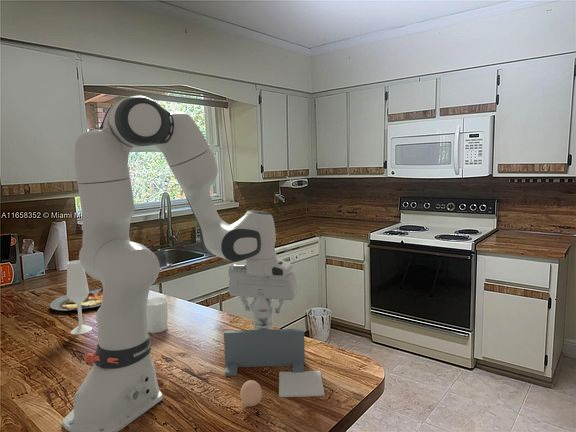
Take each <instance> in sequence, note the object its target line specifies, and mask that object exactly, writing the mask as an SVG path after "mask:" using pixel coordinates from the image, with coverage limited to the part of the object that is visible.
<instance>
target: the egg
mask: <svg viewBox="0 0 576 432" xmlns="http://www.w3.org/2000/svg"><path fill="white" fill-rule="evenodd" d="M262 389H263V388H262V387H261V385H260V384H259V382H257V380H253V379H252V380H251V379H249V380H247V381H246V382H244V383H243V384H242V386H241V388H240V391H239V396H240V401H241V402H242V403H243V405H245V406H247V407H255V406H256V405H258V404H259V403H260V402H261V400H262V397H263V391H262Z"/></svg>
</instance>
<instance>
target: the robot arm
mask: <svg viewBox="0 0 576 432" xmlns="http://www.w3.org/2000/svg"><path fill="white" fill-rule="evenodd" d="M149 146H155V147H156V148H157V149H159V151H160V152H161V154H162V155H163V156H164V158H165V160H166V163H167V165H168V166H169V168H170V170H171V172H172V174H173V176H174V177H175V179H176V181H177V183H178V184H179V186H180V188H181V190H182V192H183V193H184V195H185V198H186V201H187V203H188V205H189V208H190V210H191V211H192V214H193V216H194V219H195V221H196V223H197V225H198V230H199V239H200V240H199V241H200V245H201V247H202V249H203V250H204V251H205V252H206V253H207V254H209V255H212V256H215V257H219V258H220V259H224V260H226V261H229V262H232V263H233V262H234V263H237V262H242V261H245V264H232V265H231V266H229V267H228V277H229V278H228V279H229V280H228V294H229V295H230V296H231V297H240V301H241V303H242V304H243V306H244V311H245V312H251V311H252V308H251V304H252V303H249V301H248V298H252V299H254V298H257V297H259V296H261V297H263V298H266V299H271V300H278V304H279V305H276V306H275V308H274V310H275V311H274V313H275V314H277V315H278V314H279V315H280V314H282V311H283V309H282V308H283V305H284V304H285V301H293V300H294V299H295V298H296V297H297V295H298V288H297V286H298V285H297V280H296V279H297V278H296V276H295V273H293V272H292V271H293V266H294V265H293V264H292V263H290V262H288V261H285V260H283V259H281V258H278V257H277V252H276V248H275V247H276V246H275V245H276V240H277V239H276V237H277V236H276V226H275V221H274V218H273V215H272V214H271V213H270V212H268V211H263V210H262V211H260V210H247V211H246V212H245V214H244V215H243V216H242V217H240V218H238V219H237V220H236V221H235V222H233V223H231V224H230V223H228V222H226V221H225V220H224V219H222V218H221V216H220V215H219V213H218V211H217V208H216V205H215V203H214V201H213V199H212V196H211V192H210V188H211V185H213V183H214V182H215V181H216V179H217V177H218V172H219V170H218V165H217V162H216V159H215V156H214V153H213V152H212V149H211V147H210V145H209V143H208V141H207V140H206V137H205V136H204V134H203V133H202V130H201V129H200V127H199V126H198V124H197V123H196V122H195V120H194V119H193V118H192V117H191V115H189V114H188V113H186V112H181V111H175V112H170V111H168V110H166V109H165V108H164V107H162V106H161V105H160V104H159V103H158V102H156V101H155V100H153V99H152V98H149V97H147V96H144V95H132V96H129V97H125V98H122V99H121V98H120V99H119V100H118V101H116V102H115V103H113V104H112V105H111V106H110V107H109V108H108V109H107V111H106V112H105V114H104V117H103V120H102V122H101V124H100V126H99V128H98V129H93V130H89V131H86V132H83V133H82V134H80V135H79V136H78V137H77V138H76V140H75V144H74V169H75V176H76V177H75V178H76V179H75V180H76V183H77V189H78V197H79V202H80V207H81V213H82V214H81V215H82V242H81V243H82V245H81V246H82V247H80V248H81V249H80V250H79V253H78V260H79V261H80V264H81V266H82V268H83V269H84V270H85V274H87V275H88V276H89V277H90V278H92V279H94V280H96V281H99V282H100V283H101V285H102V288H103V297H102V303H101V306H99V308H98V309H97V311H96V314H95V315H96V327H97V335H98V336H97V337H98V343H97V345H96V351H95V353H91V352H88V353H86V355H85V357H84V360H85V362H86V363H93V366H92V367H91V369H90V370H89V371H88V374H87V375H86V377H85V378H84V380H83V381H82V383H81V385H80V386H79V388H78V389H77V390H76V392H75V394H74V397H73V408H72V410H71V411H69V413H68V414H67V415H66V416H65V417H64V418H63V419H62V421H61V422H62V423H61V425H62V427H63V429H64V430H65V431H68V432H121V430H123V429H124V428H125V427H127V426H129V425H130V423H132V422H134V421H135V420H136V419H138V418H139V417H140V416H142V415H143V414H144V413H146V412H148V411H149V410H150V409H151V408H153V407H154V406H156V405H157V404H159V402H161V401H162V400H163V399H164V397H163V396H164V395H163V392H162V391H161V390H160V386H159V383H158V377H157V370H156V367H155V364H154V361H153V359H152V356H151V351H152V342H151V336H150V333H149V332H148V328H147V299H149V293H150V289H151V286H152V285H154V283H155V282H156V281H157V278H158V277H159V274H160V266H161V265H160V261H159V259H158V257H157V255H156V254H155V253H154V252H153V251H152V250H151V249H149V248H148V247H146V246H145V245H144V244H141V243H139V242H135V241H131V238H130V226H131V220H132V218H133V216H134V214H135V211H136V208H135V202H134V193H133V188H132V181H131V174H130V169H129V156H130V153H131V151H132V149H133V148H142V147H149ZM258 289H262V290H263V295H257V290H258Z"/></svg>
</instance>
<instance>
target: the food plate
mask: <svg viewBox="0 0 576 432" xmlns="http://www.w3.org/2000/svg"><path fill="white" fill-rule="evenodd" d="M102 297H103V287H102V288H96V289H89V294H88V296H87V298H86V299H85V300H84V301H83V302H81V309H82V310H83V309H85V310H87V309H88V308H97V307H101V303H102ZM49 307H50V308H51V309H53V310H57V311H78V308H77V303H74V302H73V301H71V300H70V299H69V298H68V297H67V294H65V295H61V296H59V297H57V298H56V299H54V300H52V301H51V303H50V304H49Z"/></svg>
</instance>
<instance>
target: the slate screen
mask: <svg viewBox="0 0 576 432" xmlns="http://www.w3.org/2000/svg"><path fill="white" fill-rule="evenodd" d="M223 344H224V365H225V367H224V368H225V370H224V376H225V377H227V376H228V377H229V376H231V377H232V376H237V375H238V374H237V373H238V369H239V368H248V367H249V368H251V367H253V368H254V367H285V366H286V367H287V366H288V367H290V366H291V367H292V369H291V370H292V371H291V372H293V373H295V372H304V371H305V370H304V369H305V368H304V366H305V365H306V359H305V356H306V354H305V353H306V352H305V351H306V349H305V348H306V347H305V346H306V345H305V328H277V329H275V328H274V329H273V328H272V329H269V330H254V329H239V330H236V329H235V330H224V331H223Z"/></svg>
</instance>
